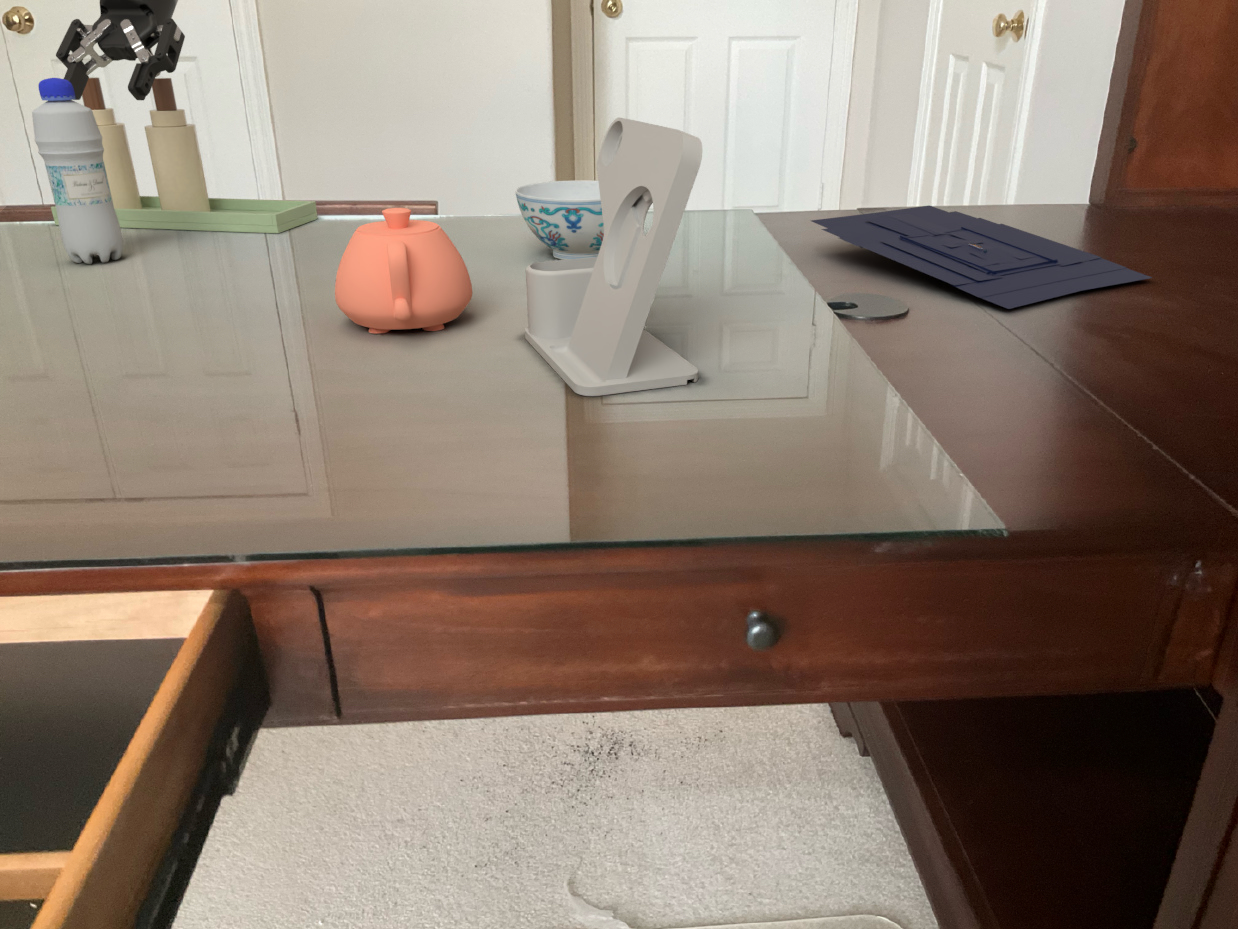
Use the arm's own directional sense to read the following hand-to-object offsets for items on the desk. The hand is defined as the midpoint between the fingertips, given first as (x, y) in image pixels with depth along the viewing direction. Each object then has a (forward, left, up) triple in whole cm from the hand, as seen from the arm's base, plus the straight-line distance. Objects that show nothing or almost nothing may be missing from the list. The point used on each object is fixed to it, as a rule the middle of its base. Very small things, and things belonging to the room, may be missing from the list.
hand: (102, 95), depth 109 cm
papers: (+83, +56, -18) cm, 102 cm away
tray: (-13, +13, -18) cm, 25 cm away
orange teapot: (+53, +1, -18) cm, 56 cm away
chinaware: (+45, +33, -18) cm, 59 cm away
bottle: (+3, -6, -18) cm, 19 cm away
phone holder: (+73, +6, -18) cm, 76 cm away
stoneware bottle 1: (-22, +7, -17) cm, 29 cm away
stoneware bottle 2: (-13, +13, -17) cm, 25 cm away
